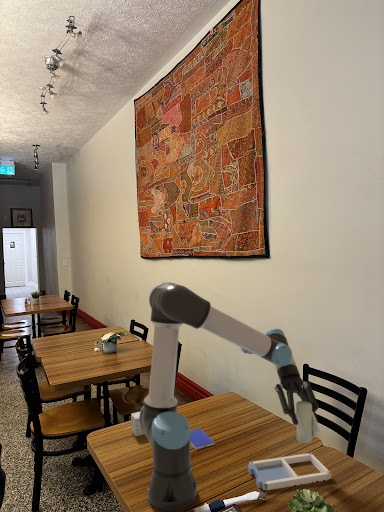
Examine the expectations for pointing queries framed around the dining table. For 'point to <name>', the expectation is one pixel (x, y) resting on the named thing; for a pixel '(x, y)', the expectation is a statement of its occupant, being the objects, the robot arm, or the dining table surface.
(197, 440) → the blue book
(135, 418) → the skincare box
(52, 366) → the dining table surface
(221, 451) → the dining table surface
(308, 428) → the pale green cylinder
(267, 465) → the bay rack
